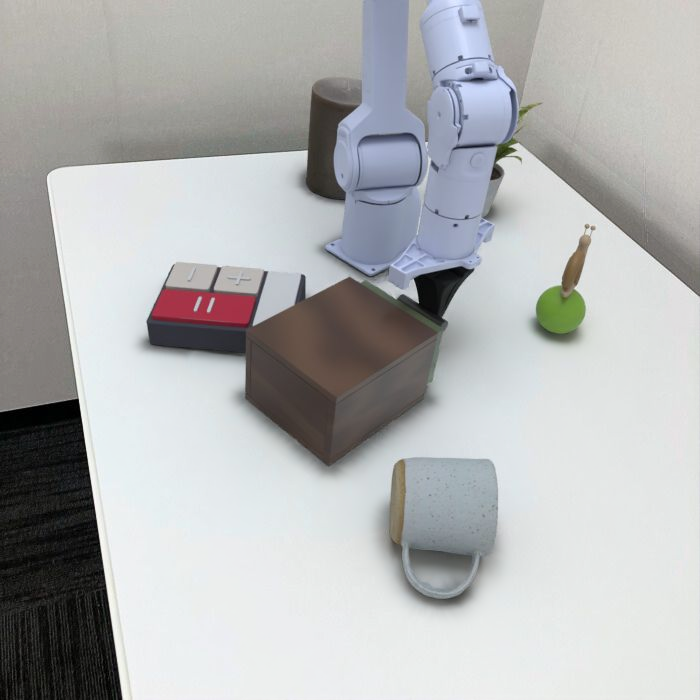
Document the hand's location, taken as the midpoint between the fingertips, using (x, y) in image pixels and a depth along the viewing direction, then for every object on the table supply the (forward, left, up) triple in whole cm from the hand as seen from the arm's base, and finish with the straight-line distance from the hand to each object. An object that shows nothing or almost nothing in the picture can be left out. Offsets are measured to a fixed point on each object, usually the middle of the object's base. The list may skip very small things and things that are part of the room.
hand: (430, 316), depth 83 cm
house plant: (-29, -15, -4) cm, 33 cm away
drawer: (+9, 0, -3) cm, 10 cm away
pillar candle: (-18, -31, -4) cm, 36 cm away
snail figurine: (-14, +8, -4) cm, 17 cm away
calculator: (+14, -16, -4) cm, 22 cm away
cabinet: (+14, 0, -3) cm, 14 cm away
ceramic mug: (+20, +18, -4) cm, 27 cm away
